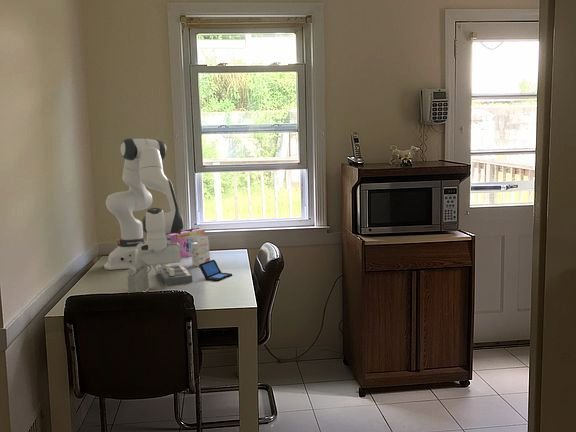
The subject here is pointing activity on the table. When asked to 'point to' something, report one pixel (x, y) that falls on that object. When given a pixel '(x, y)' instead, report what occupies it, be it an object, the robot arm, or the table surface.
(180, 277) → the switch panel
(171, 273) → the switch tab
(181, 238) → the gum box
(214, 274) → the handheld game console
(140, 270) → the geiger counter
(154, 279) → the table surface
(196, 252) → the ink cartridge box
